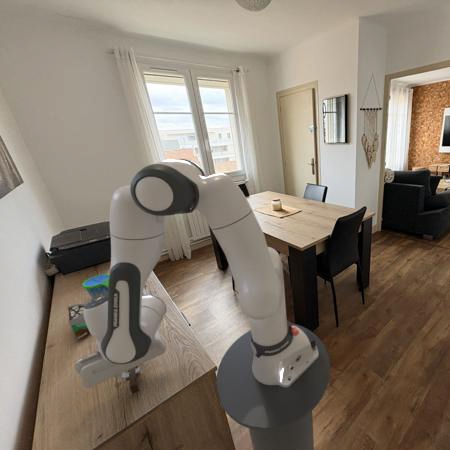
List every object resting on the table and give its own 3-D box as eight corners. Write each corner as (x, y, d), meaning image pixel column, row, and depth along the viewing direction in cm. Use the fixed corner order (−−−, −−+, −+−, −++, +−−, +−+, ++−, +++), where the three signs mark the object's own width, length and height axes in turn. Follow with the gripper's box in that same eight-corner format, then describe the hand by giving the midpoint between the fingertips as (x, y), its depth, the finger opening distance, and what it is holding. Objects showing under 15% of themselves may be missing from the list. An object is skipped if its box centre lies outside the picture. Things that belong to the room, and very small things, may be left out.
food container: (99, 333, 94) (89, 313, 90) (78, 342, 90) (68, 322, 87) (95, 317, 102) (86, 298, 99) (76, 325, 99) (67, 306, 95)
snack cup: (125, 294, 117) (118, 276, 113) (102, 308, 108) (93, 289, 104) (106, 288, 123) (99, 271, 119) (82, 300, 114) (74, 282, 110)
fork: (143, 389, 71) (140, 382, 70) (128, 396, 70) (125, 389, 69) (141, 357, 82) (138, 350, 81) (128, 362, 80) (125, 356, 79)
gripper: (69, 371, 61) (89, 407, 66) (159, 333, 71) (171, 366, 76) (73, 354, 65) (92, 388, 71) (157, 320, 76) (168, 352, 81)
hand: (134, 376), depth 73 cm, fingers closed on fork, 2 cm apart
